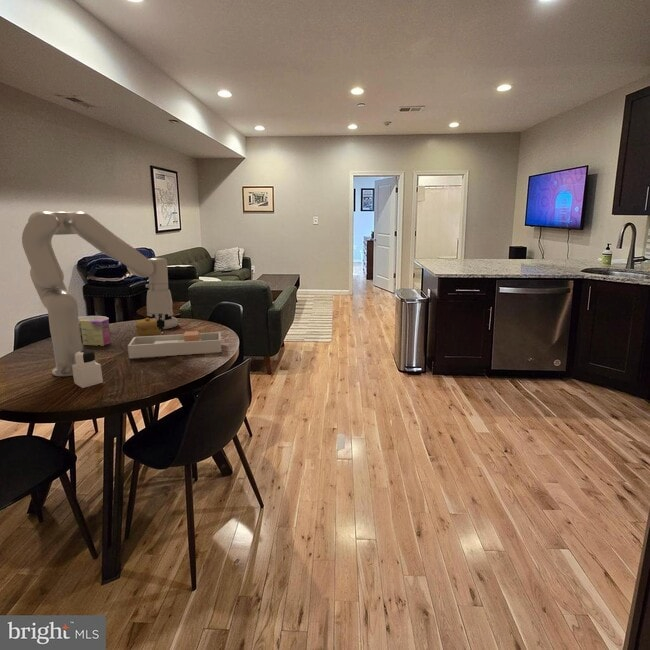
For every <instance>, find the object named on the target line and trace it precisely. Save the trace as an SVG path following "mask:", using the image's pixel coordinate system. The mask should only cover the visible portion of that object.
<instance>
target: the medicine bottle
mask: <svg viewBox="0 0 650 650" xmlns="http://www.w3.org/2000/svg"><path fill="white" fill-rule="evenodd" d="M75 359H76V364H74V365H72V370H73V375H72V377H73V383H74V384H75V385H76V386H79V387H80V388H81V389H84V388H88V387H93V386H95V385H99V384H103V383H104V380H103V372H102V365H101V363H98V362H96V355H95V351H93V350H91V349H85V350H84V349H83V351H79V352H77V353H76V354H75Z"/></svg>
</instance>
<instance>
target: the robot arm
mask: <svg viewBox="0 0 650 650" xmlns="http://www.w3.org/2000/svg"><path fill="white" fill-rule="evenodd" d="M55 235H56V236H57V235H58V236H60V235H61V236H62V235H77V236H79V237H80V238H81V239H82V240H84V241H86V242H87V243H88V244H90V245H91V246H92V247H94V248H95V249H96V250H98V251H99V252H101V253H102V254H103V255H106V256H107V257H109V258H111V259H114V260H116V261H118V262H119V263H121V264H123V265H124V266H126V269H127V271H128V272H129V273H130V274H132V275H134V276H137V277H140V278H148V283H147V284H145V288H147V289H148V290H147V293H146V316H148V317H152V319H153V318H155V319H156V320H157V327H159V330H160V329H161V331H162V330H164V329H163V327H165V321H164V320H165V319H166V318H167V317H168V316H171V317H173V315H174V311H173V308H174V307H173V306H174V305H172V302H173V299H172V292H171V290H170V289H169V276H168V273H169V271H168V261H167V258H163V257H152V258H148V257H146V256H145V255H143V254H142V253H141V252H140V251H139V250H138V249H135V248H134V247H133V246H132V245H131V244H129V243H127V242H126V241H125V240H123V239H122V238H120V237H118V236H117V235H116V234H114V233H113V232H112V231H110V230H109V229H108V228H107V227H105V226H104V225H103V224H102V223H100V222H99V221H98V220H97V219H95V217H93V216H91V215H90V214H89V213H87V212H84V211H45V210H41V211H35V212H33V213H31V214H30V215H29V217H28V220H27V223H26V224H25V226H24V228H23V231H22V234H21V244H22V248H23V251H24V253H25V257H26V259H27V262H28V263H29V266H30V269H29V274H30V278H31V281H32V283H33V285H34V288H35V290H36V292H37V295H38V297H39V299H40V302H41V303H42V305H43V307H45V309H46V310H47V313H48V324H49V332H50V336H51V342H52V348H53V356H54V360H55V361H54V362H55V363H54V364H55V367H54V368H53V369H52V370H51V374H52V375H53V376H55V377H73V370H72V365H74V364H76V359H75V354H76V353H77V352H79V351H83V350H84V349H83V340H82V337H81V334H80V328H79V319H78V317H79V306H78V305H79V304H78V302H77V299H76V297H75V296H74V295H73V294H72V293H70V292H69V291H68V289H67V287H66V285H65V282H64V279H65V274H64V271H63V270H62V268H61V265H60V263H59V261H58V259H57V256H56V253H55V251H54V248H53V243H52V239H53V237H54V236H55ZM159 314H162V318H161V320H160V318H159Z"/></svg>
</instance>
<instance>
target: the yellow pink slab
mask: <svg viewBox="0 0 650 650" xmlns="http://www.w3.org/2000/svg"><path fill="white" fill-rule="evenodd" d="M87 318H91V319H108V320H109V319H110V318H109V317H107V316H102V315H86V316H78V319H79V328H80V334H81V336H82V330H81V322H80V321H81V320H84V319H87Z"/></svg>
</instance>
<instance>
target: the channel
mask: <svg viewBox="0 0 650 650" xmlns="http://www.w3.org/2000/svg"><path fill="white" fill-rule="evenodd" d="M184 334H185V333H182V334H181V333H180V334H165V335H161V334H160V335H158V336H143V337H139V336H134V337H132V339H131V341H130V342H129V343H128V344H127V353H128V359H129V360H140V358H143V359H155V357H158V358H167V357H166V356H173V357H178V356H177V355H187V356H191V355H190V354H202V355H206V354H205V353H217V354H221V353H220V352H222V353H223V350H222V348H221V347H222V332H221V331H218V332H217V331H215V332H201V333H200V332H199V341H189V342H184Z"/></svg>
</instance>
